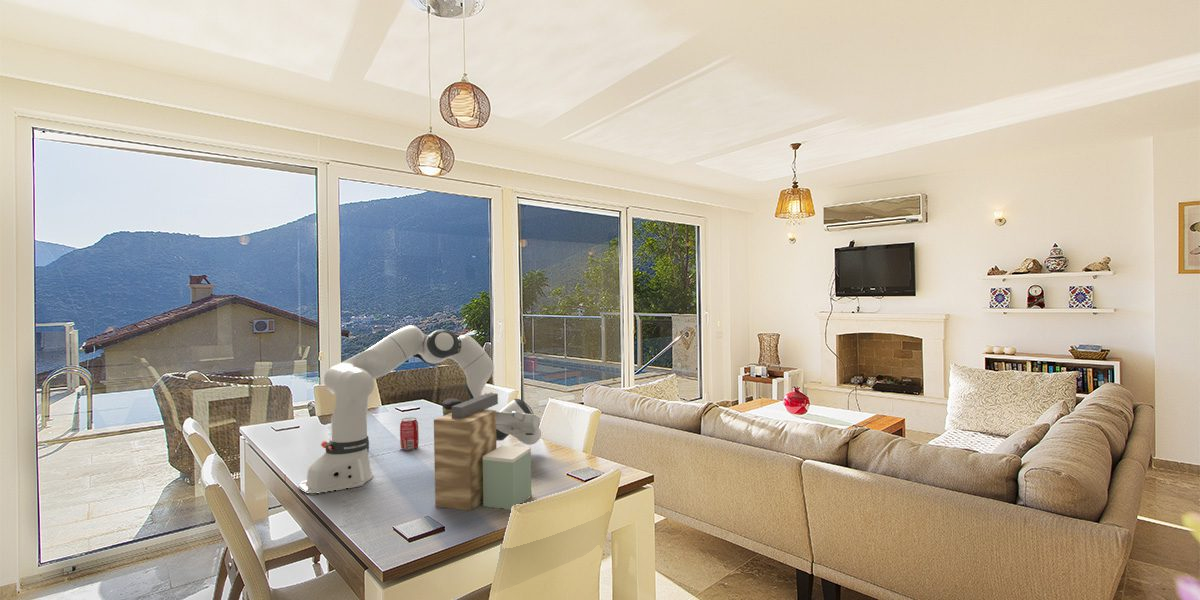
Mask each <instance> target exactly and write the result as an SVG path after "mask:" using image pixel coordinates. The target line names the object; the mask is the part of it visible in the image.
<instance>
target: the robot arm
mask: <svg viewBox="0 0 1200 600" xmlns="http://www.w3.org/2000/svg"><path fill="white" fill-rule="evenodd" d="M413 356H416V358H418V359H420V360H421V361H422V362H423V363H424V364H427V365H430V366H434V365H439V364H440V363H443V362H444V361H446V360H447V359H451V360H453V361H454V362H455V363H456V364H458V365H459V367H460V369H461V370H462V372H463V373H464V375H465V377H466V383H465V384H464V385H465V387H464V388H465V390H466V393H467V395H468V397H469V400H471V399H474V398H476V397H479V396H482V395H483V394H482V393H483V390H484V388H485V387H486V384H487V382H488V381H489V380H490V378H491V376H492V374H493V371H494V363H493V361H492V360H493V359H491V357H490V356H489V354H488V353H487V352H486V351H485V349H484V348H483V347H482V346H481V344H479V342H477V340H475V338H474V337H472V336H471V335H469V334H460V335H458V334H455V333H454V332H452V331H450V330H447V329H444V328H441V329H435V330H434V331H432V332H431V333H430V334H426V333H424V332H423V331H422V329H420V328H419V327H418V326H416V325H413V324H412V325H406V326H404V327H401V328H399V329H397V330H395V331H394V332H392V333H390V334H389V335H387V336H386V337H384V338H383V339H381V340H380V341H378V342H376V343H375V344H374V345H372V346H370V347H369V348H367V349H366V350H365V349H364V351H362V352H360V353H357V354H355V355H353V356H352V357H350V358H348V359H346V360H344V361H342V362H340V363H338V364H335V365H333V366H331V367H329V368H328V370H327V371H326V372H325V374H324V377H323V381H324V382H323V383H324V385H325V388H326V390H328V392H329V393H331V394H332V395H335V402H334V403H335V404H334V408H333V413H332V415H331V420H330V421H331V422H330V423H331V429H330V430H331V440H329V441H328V442H327V441H326V440H324V441H322V442H321V443H320V446H321V447H322V448H323V449H325V453H323V454H322V455H321V456H320V457H318V458H317V459H316V460H315V461H314V462H313V463H311V465H310V466H309V467H308V470H307V473H306V479H304V480H302V481H301V482H300V483H299V485H298V487H299V486H300V488H301V489H302V490H304V491H306V492H309V493H317V492H325V493H327V492H326V491H331V492H334V490H336V491H340V490H341V491H342V490H347V489H346V488H348V489H352V488H358V487H363V485H364V484H365V483H367V482H369V481H371V480H372V479H373V477H374V474H373V472H372V467H371V465H370V464H371V463H370V459H369V450H370V440H369V436H368V419H367V418H368V417H367V416H368V408H369V402H370V399H371V398H370V397H371V394H372V393H373V391H374V388H375V380H376V379H378V378H379V379H380V378H381V377H383V376H386V375H388V374H389V373H391V372H392V371H394V370H395V369H397V368H398V367H400V366H401V365H402V364H403V363H405V362H406V361H408V360H409V359H410V358H412V357H413ZM485 410H490V408H487V409H485ZM540 421H541V418H540V417H539V416H537V415H536V414H534V411H533V410H532V408H531V407H530V406H529V405H528V404H527V403H526V402H525V401H524V399H520V398H514V399H512V400H510V401H509V402H508V403H507V404H506V405H504V406H503V407H502V408H501V409H499V410H496V442H499V441H504V440H505V439H506V438H507V437H509V435H510V436H512V438H514V439H517V440H518V441H519V442H521V443H522V444H524V445H528V446H532V445H535V444H536V443H537V442H538V441H540V439H541V437H542V431H541V428H540V423H541V422H540ZM300 488H299V489H300Z"/></svg>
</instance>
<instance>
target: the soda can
mask: <svg viewBox="0 0 1200 600" xmlns="http://www.w3.org/2000/svg"><path fill="white" fill-rule="evenodd" d="M399 440H400V441H399V442H400V448H401V449H402V450H403V449H404V450H403V451H412V449H413V450H415V448H416V449H417V448H418V447H419V440H420V439H419V422H418V421H417V417H405V418H402V419H401V422H400V423H399Z"/></svg>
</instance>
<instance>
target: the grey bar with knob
mask: <svg viewBox="0 0 1200 600" xmlns="http://www.w3.org/2000/svg"><path fill="white" fill-rule="evenodd" d="M498 395H499V394H498V393H493V391H487V392H484V394H482V396H479V397H476V398H474V399H469V400H465V401H462V402H463V403H460V404H457V405H455V406H452V418H455V419H463V418H465V417H468V416H470V415H473V414H475V413H477V412H480V411H482V410H485V409H487V408H488V409H490V408H492V407H493V406H496V405H498V403H499V397H498Z"/></svg>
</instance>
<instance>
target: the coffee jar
mask: <svg viewBox="0 0 1200 600" xmlns="http://www.w3.org/2000/svg"><path fill="white" fill-rule="evenodd" d="M463 402H464V401H462V400H460V399H457V398H455V397H451V398H450V397H449V398H446V399H445V400H443V401H442V416H444V415H447V414H450V413H452V406H455V405H457V404H460V403H463Z"/></svg>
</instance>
